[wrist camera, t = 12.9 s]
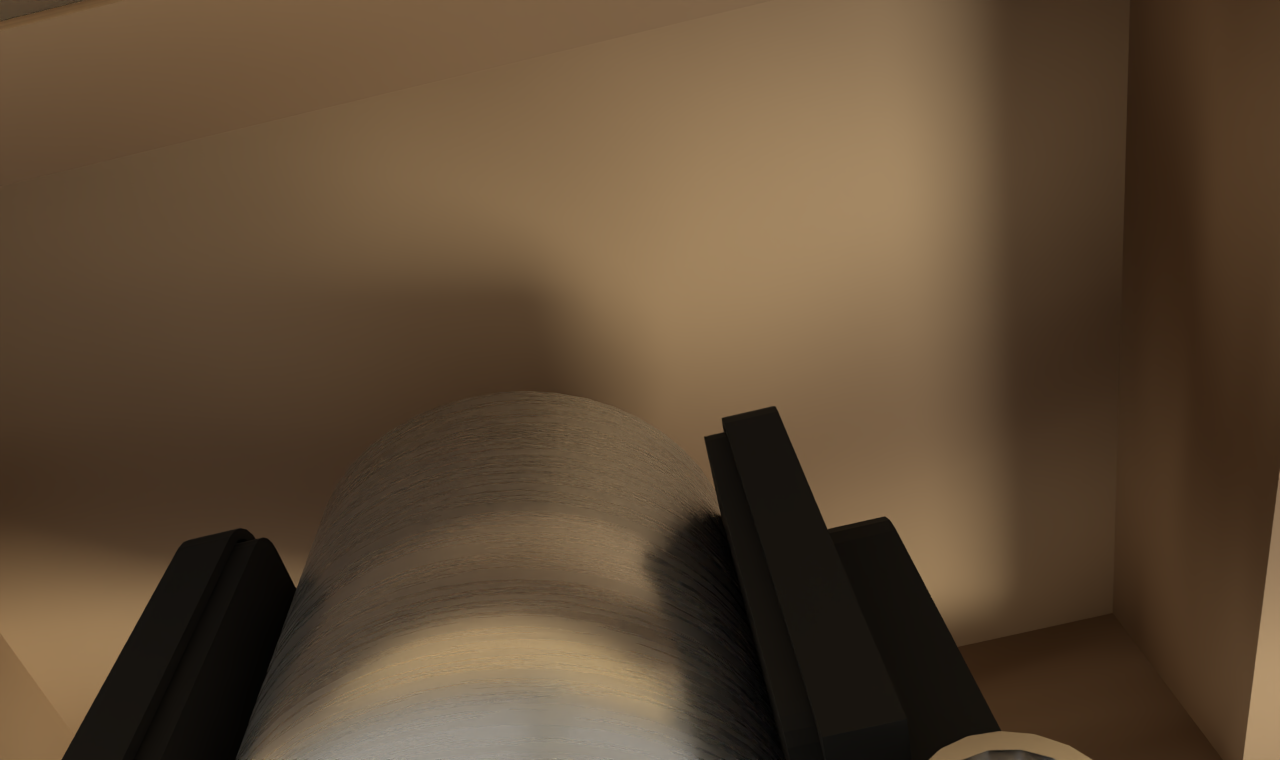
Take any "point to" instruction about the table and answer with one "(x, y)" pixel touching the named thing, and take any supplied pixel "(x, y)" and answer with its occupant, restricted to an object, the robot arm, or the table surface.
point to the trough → (670, 302)
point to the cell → (517, 600)
